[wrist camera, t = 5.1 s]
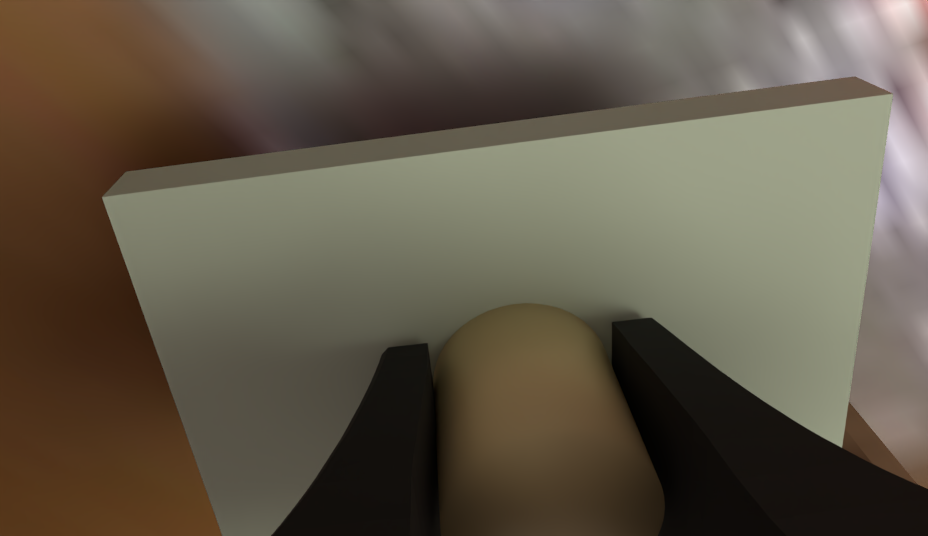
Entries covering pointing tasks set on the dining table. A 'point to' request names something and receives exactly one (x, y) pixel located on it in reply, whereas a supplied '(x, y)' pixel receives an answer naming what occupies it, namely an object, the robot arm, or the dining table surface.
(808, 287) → the lid
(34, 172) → the dining table surface
